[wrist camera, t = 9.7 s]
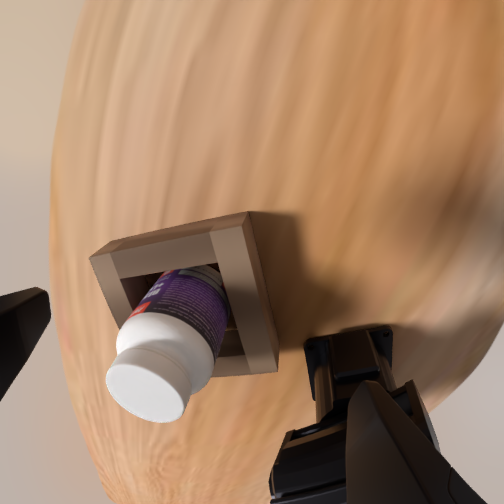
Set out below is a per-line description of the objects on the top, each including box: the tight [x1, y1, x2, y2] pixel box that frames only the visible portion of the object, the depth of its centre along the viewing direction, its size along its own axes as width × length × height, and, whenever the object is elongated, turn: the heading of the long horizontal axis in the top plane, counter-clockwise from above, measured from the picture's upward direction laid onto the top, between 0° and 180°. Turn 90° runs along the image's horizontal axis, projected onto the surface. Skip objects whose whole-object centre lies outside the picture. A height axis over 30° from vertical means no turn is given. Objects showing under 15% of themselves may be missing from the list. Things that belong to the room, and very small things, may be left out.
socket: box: [89, 211, 280, 377], centre depth 20 cm, size 10×10×3 cm
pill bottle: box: [106, 265, 232, 423], centre depth 17 cm, size 5×5×10 cm
